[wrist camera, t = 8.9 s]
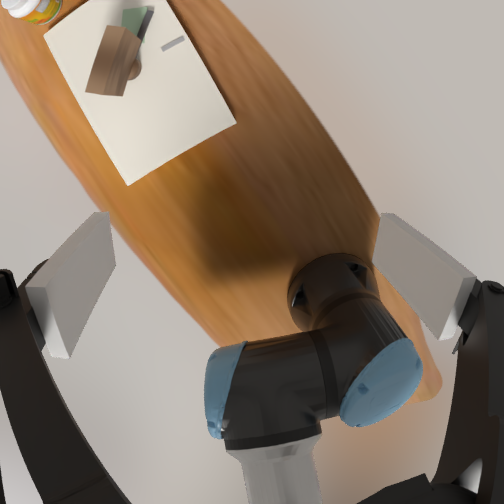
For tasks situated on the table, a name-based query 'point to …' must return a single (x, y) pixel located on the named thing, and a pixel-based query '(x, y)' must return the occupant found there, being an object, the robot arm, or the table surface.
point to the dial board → (141, 85)
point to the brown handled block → (117, 59)
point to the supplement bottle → (33, 10)
